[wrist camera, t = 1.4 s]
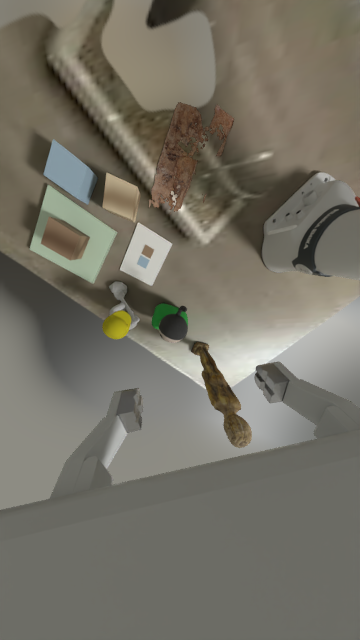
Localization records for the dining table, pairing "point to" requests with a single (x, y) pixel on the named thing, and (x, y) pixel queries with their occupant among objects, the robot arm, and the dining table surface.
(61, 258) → the plate
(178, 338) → the toy
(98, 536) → the robot arm
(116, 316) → the figurine
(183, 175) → the bark
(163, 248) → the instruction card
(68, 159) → the blue brick
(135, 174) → the dining table surface
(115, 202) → the oak brick
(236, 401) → the sculpture
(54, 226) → the walnut brick
